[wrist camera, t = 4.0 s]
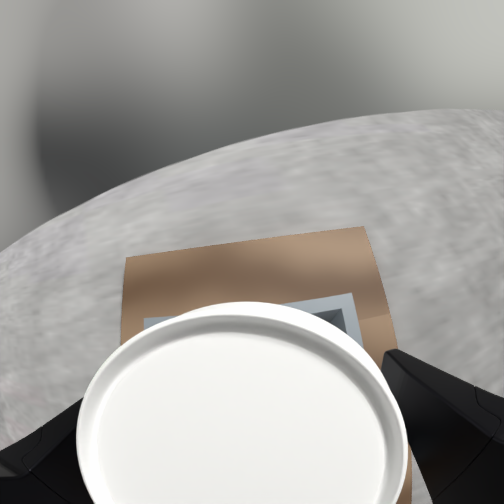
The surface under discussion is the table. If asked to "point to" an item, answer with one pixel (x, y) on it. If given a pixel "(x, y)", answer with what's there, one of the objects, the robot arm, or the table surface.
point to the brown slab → (265, 285)
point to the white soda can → (241, 414)
